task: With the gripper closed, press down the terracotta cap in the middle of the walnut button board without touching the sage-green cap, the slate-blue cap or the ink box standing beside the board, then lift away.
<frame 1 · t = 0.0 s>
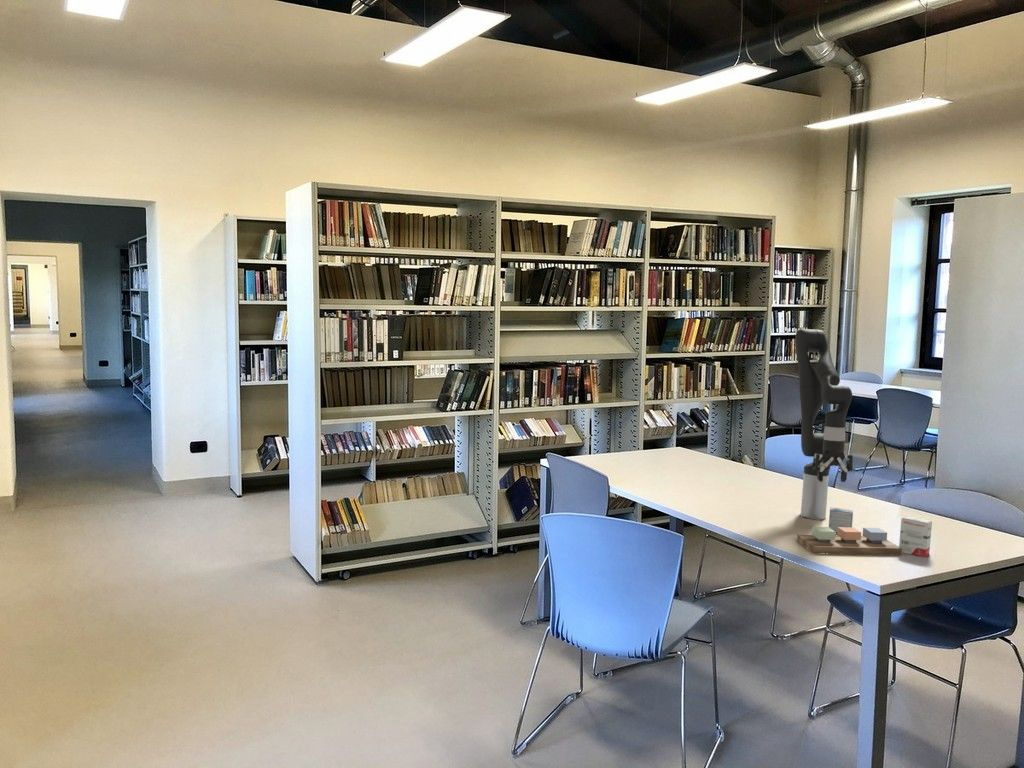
hand: (831, 481, 296), 17 cm above the table, tool pointing down, fingers open, 8 cm apart
button board: (847, 548, 271), on the table
terracotta button: (849, 533, 271), point 5 cm above the table, slide at 0.0 cm
ink box: (913, 553, 268), on the table
sage button: (823, 533, 270), point 5 cm above the table, slide at 0.0 cm
medicine box: (839, 533, 290), on the table
slate button: (874, 534, 271), point 5 cm above the table, slide at 0.0 cm
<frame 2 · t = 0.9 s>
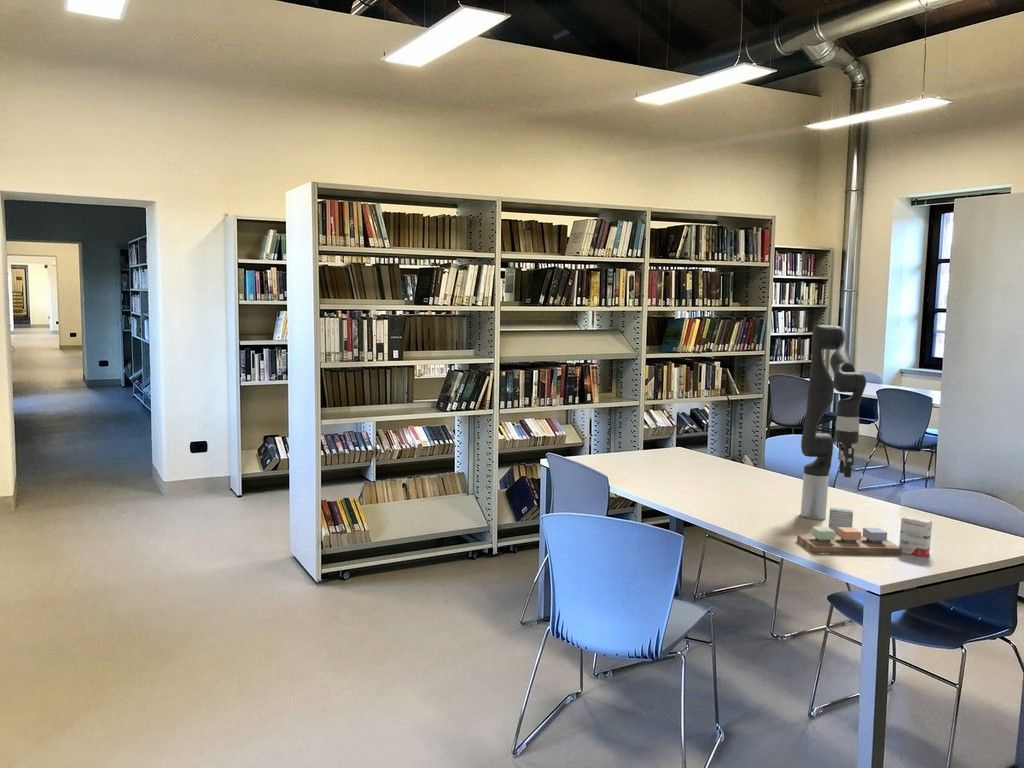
hand: (845, 475, 277), 24 cm above the table, tool pointing down, fingers open, 8 cm apart
nothing on the table moved.
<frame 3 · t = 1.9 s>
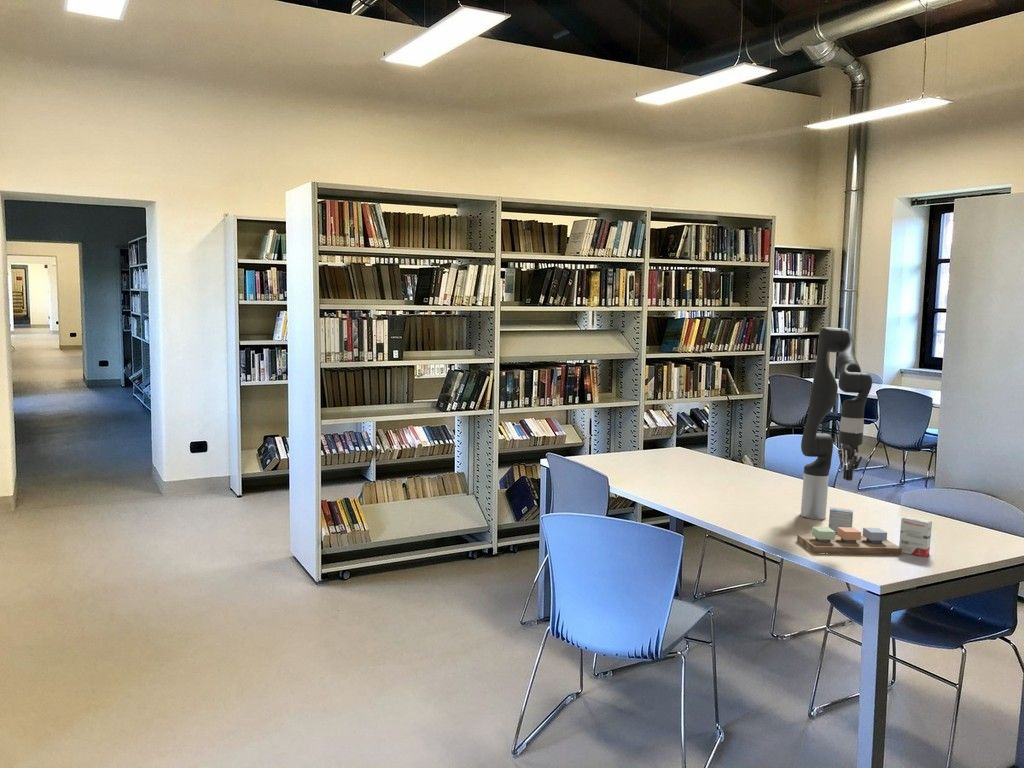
hand: (847, 479, 273), 23 cm above the table, tool pointing down, fingers closed
nothing on the table moved.
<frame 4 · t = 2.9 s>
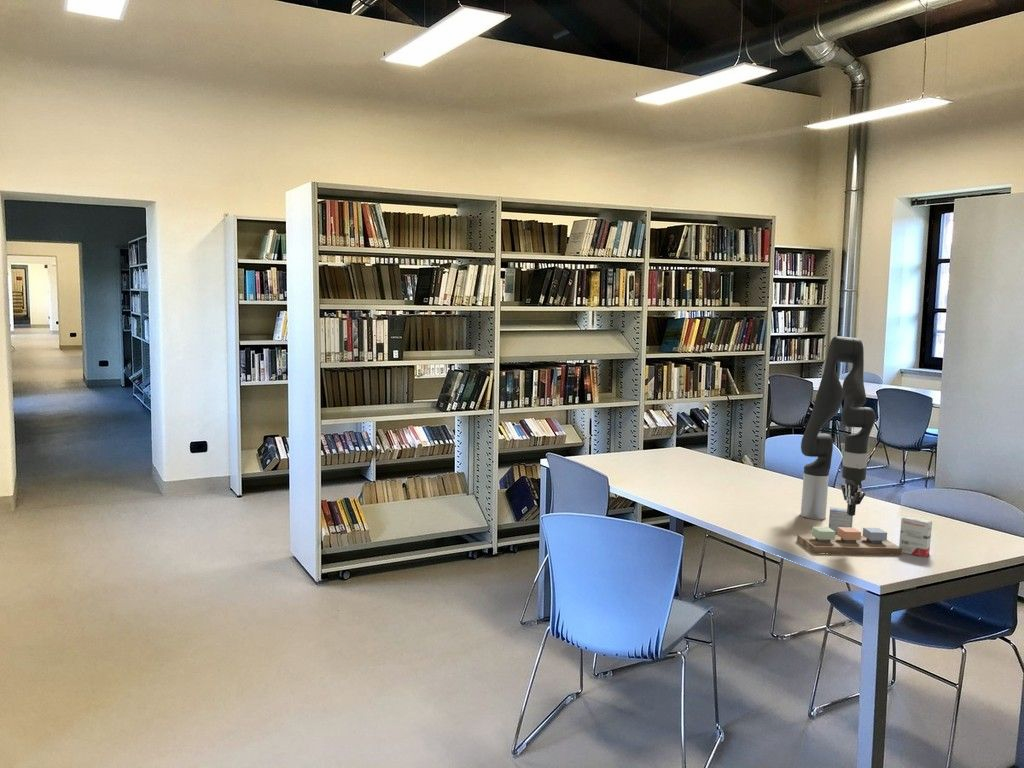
hand: (850, 515, 270), 12 cm above the table, tool pointing down, fingers closed
nothing on the table moved.
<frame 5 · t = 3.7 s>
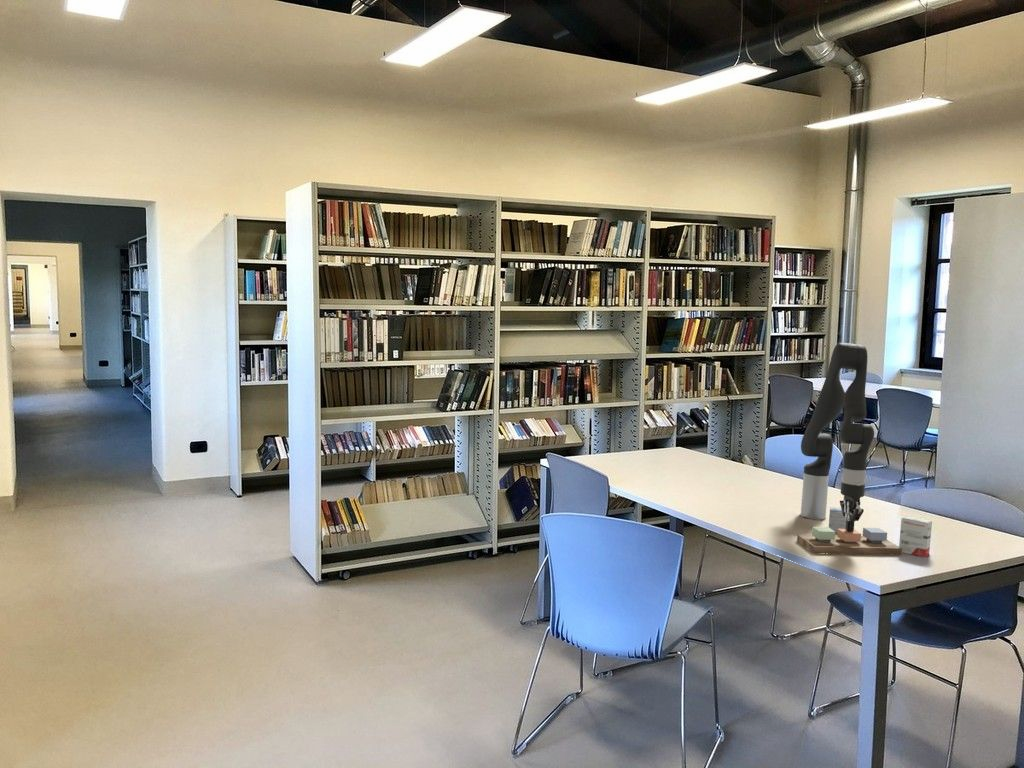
hand: (849, 531, 270), 6 cm above the table, tool pointing down, fingers closed
terracotta button: (849, 535, 271), point 5 cm above the table, slide at 0.5 cm, touching gripper
everything else where it was.
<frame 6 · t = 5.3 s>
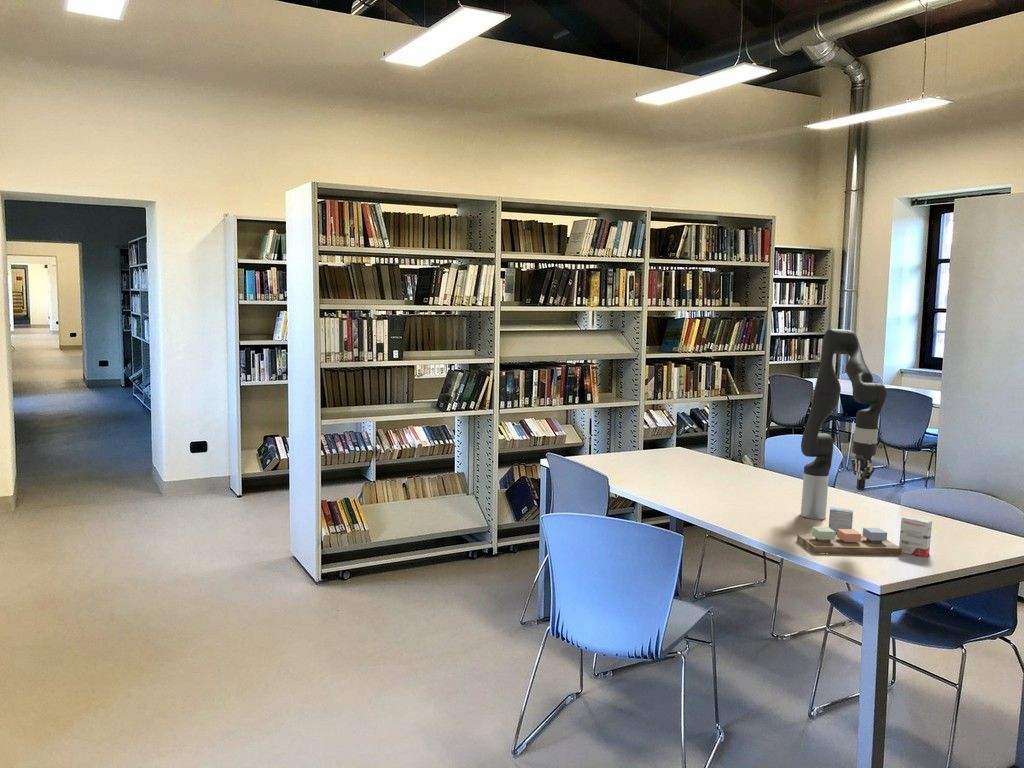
hand: (860, 489, 273), 20 cm above the table, tool pointing down, fingers closed
terracotta button: (848, 535, 271), point 4 cm above the table, slide at 0.6 cm
everything else where it was.
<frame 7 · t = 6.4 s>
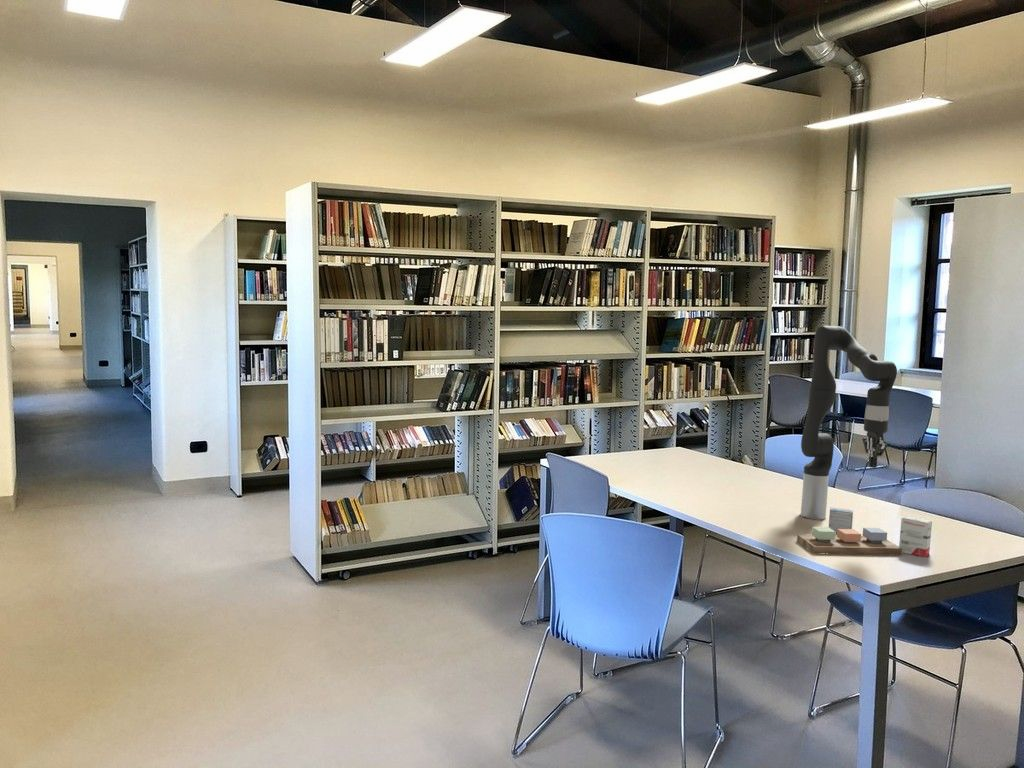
hand: (872, 467, 276), 27 cm above the table, tool pointing down, fingers closed
nothing on the table moved.
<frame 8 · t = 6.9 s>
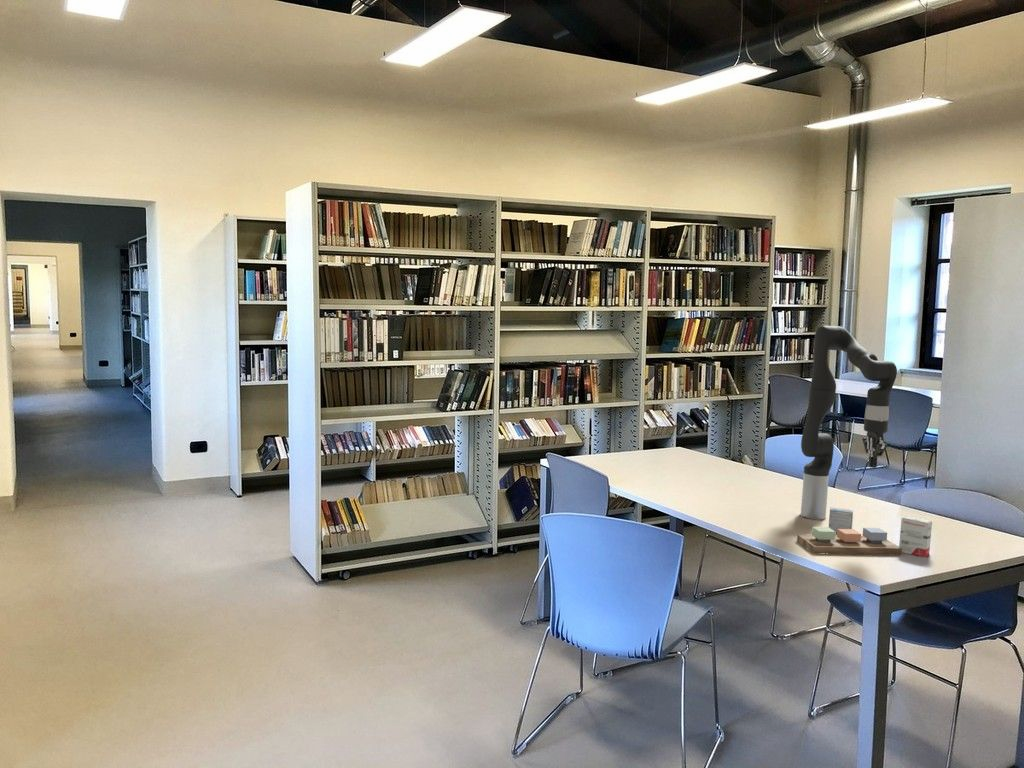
hand: (872, 467, 276), 27 cm above the table, tool pointing down, fingers closed
nothing on the table moved.
at the end: terracotta button slide at 0.6 cm; sage button slide at 0.0 cm; slate button slide at 0.0 cm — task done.
